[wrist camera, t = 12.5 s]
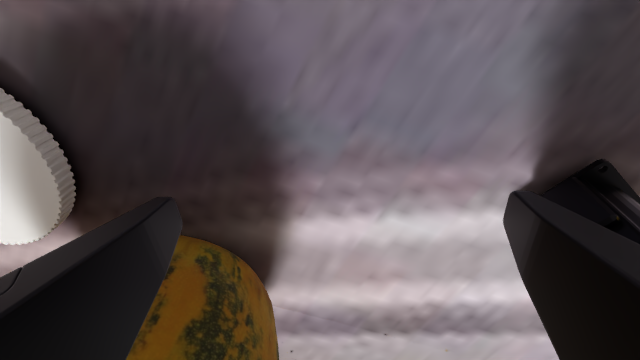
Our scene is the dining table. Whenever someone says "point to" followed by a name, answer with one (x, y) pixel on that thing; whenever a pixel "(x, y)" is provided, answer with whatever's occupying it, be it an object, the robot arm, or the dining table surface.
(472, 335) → the dining table surface
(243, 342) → the pumpkin
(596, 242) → the robot arm
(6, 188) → the plastic lid
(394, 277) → the dining table surface
